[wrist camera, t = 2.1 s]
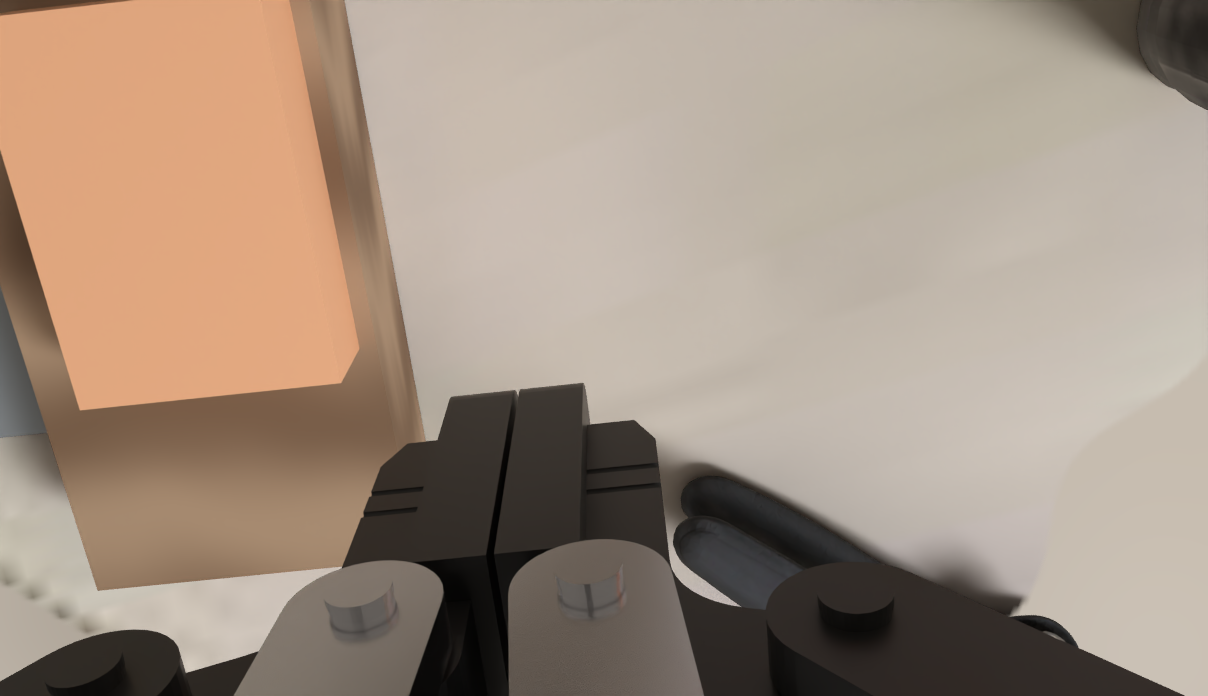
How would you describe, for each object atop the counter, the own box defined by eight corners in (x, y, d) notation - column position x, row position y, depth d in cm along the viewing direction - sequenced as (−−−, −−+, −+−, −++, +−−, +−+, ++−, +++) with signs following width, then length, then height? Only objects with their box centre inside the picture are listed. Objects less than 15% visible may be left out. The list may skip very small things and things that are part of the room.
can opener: (1128, 648, 41) (1207, 757, 36) (1000, 774, 43) (1056, 894, 38) (741, 396, 37) (765, 475, 32) (620, 547, 39) (624, 645, 34)
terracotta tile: (12, 11, 28) (-40, 20, 26) (285, -21, 28) (257, -15, 26) (117, 373, 32) (79, 410, 30) (359, 348, 32) (341, 383, 29)
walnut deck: (-86, -265, 30) (-184, -291, 26) (286, -311, 29) (242, -344, 26) (145, 524, 38) (97, 590, 35) (435, 495, 38) (418, 558, 34)
